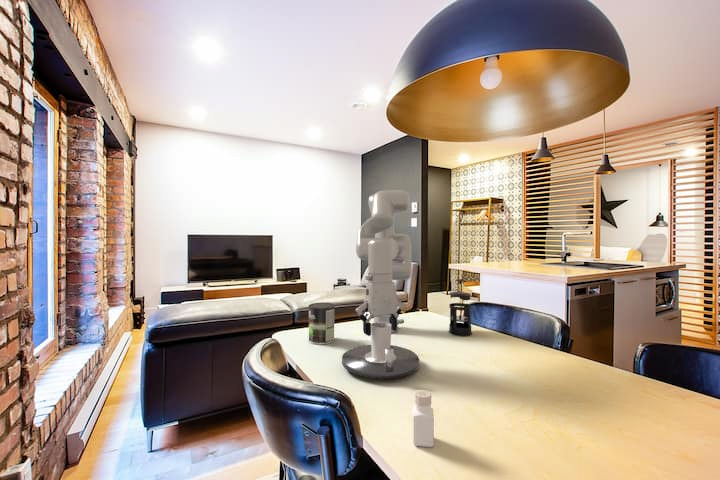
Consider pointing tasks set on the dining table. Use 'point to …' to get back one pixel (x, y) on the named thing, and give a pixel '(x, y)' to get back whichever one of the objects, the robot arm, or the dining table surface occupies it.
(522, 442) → the dining table surface
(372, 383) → the dining table surface
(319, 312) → the coffee can
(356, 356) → the turntable
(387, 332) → the drinking glass
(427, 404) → the white pill bottle
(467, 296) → the french press
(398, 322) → the robot arm
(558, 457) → the dining table surface
